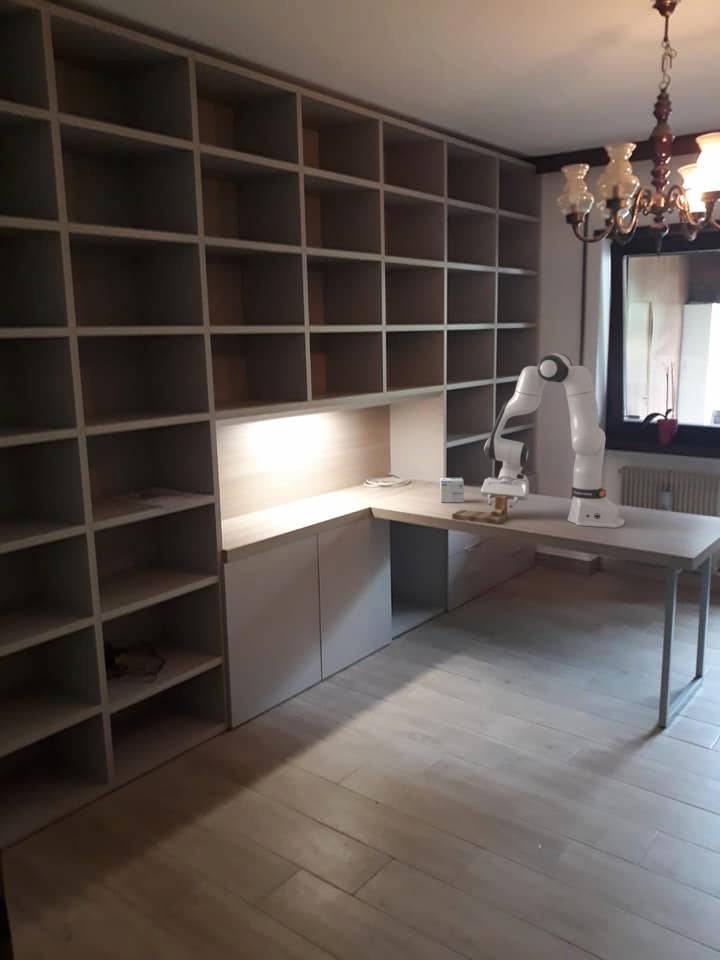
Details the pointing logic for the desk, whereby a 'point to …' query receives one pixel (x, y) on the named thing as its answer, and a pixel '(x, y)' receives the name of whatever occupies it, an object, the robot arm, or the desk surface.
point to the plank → (478, 516)
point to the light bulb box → (451, 490)
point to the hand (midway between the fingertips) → (500, 505)
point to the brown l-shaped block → (500, 505)
